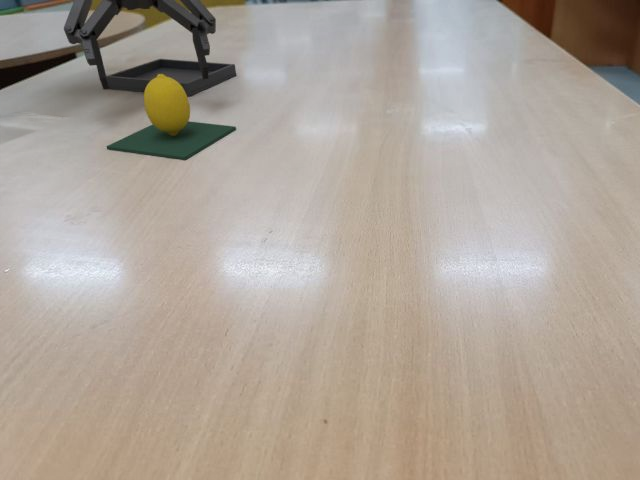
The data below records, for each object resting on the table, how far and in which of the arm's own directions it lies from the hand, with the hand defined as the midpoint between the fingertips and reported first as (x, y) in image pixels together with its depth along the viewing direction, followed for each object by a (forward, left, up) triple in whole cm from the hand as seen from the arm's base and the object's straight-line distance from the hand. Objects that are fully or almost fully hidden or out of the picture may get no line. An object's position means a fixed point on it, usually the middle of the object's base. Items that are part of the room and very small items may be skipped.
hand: (156, 78), depth 72 cm
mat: (+6, -6, -6) cm, 10 cm away
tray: (-13, +20, -6) cm, 25 cm away
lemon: (+6, -6, -6) cm, 10 cm away
